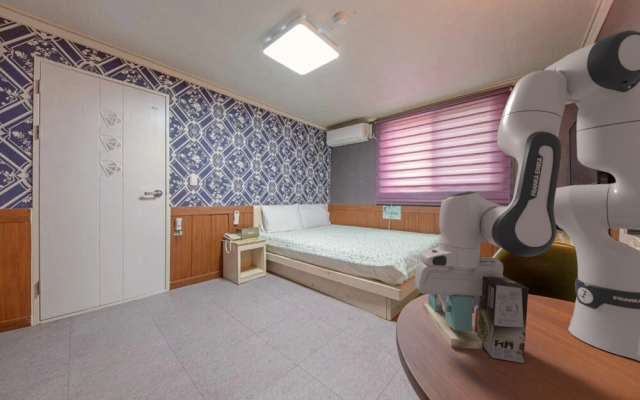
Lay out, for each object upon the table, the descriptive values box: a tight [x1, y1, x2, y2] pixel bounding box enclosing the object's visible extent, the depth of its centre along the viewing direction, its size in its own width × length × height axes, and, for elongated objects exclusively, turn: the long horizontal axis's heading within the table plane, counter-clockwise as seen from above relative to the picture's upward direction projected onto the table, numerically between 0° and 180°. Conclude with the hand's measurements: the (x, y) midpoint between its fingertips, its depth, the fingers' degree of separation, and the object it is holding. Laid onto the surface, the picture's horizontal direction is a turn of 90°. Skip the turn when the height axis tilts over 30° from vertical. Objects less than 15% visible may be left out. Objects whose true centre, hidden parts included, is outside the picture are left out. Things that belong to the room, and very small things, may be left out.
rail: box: [422, 294, 483, 350], centre depth 64 cm, size 7×19×10 cm, turn 175°
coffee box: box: [474, 275, 530, 364], centre depth 55 cm, size 9×6×16 cm
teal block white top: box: [445, 295, 473, 331], centre depth 59 cm, size 4×6×8 cm
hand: (457, 311), depth 59 cm, fingers open, 4 cm apart
